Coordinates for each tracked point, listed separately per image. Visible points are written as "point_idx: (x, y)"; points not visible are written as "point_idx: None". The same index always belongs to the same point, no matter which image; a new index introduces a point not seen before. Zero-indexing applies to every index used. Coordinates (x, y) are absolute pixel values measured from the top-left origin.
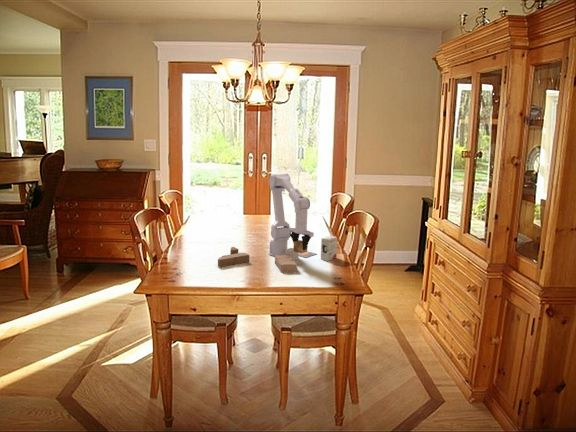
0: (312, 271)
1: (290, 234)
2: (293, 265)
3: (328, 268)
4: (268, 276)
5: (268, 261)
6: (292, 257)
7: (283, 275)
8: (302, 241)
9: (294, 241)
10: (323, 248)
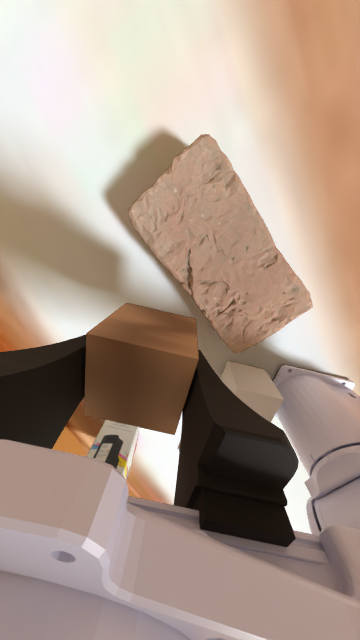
0: (86, 270)
1: (283, 443)
2: (141, 196)
3: (62, 339)
4: (241, 3)
5: (327, 299)
6: (230, 368)
7: (166, 107)
8: (129, 407)
9: (197, 374)
10: (114, 455)
